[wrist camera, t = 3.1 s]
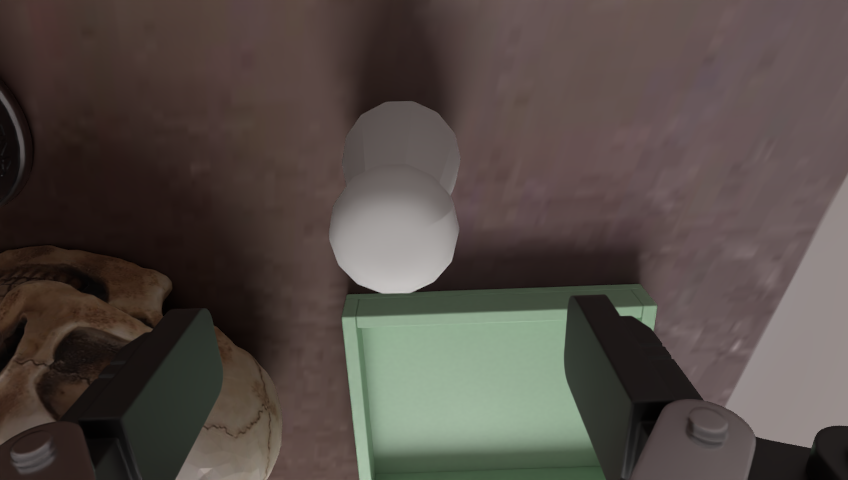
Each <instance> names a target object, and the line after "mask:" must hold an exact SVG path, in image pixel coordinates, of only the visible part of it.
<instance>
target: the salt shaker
mask: <svg viewBox="0 0 848 480" xmlns="http://www.w3.org/2000/svg"><path fill="white" fill-rule="evenodd" d="M460 160H461V158H460V154H459V149H458V145H457V140H456V136H455V133H454V132H453V131H452V129H451V128H450V127H449V126H448V125H447V123H446V122H445V121H444V120H443V118H442V117H441V116H440V115H439V114H438V113H437V112H435V111H433V110H431V109H429V108H427V107H425V106H422V105H420V104H418V103H416V102H414V101H395V102H384V103H383V104H381V105H379V106H377V107H375V108H373V109H371V110H369V111H367V112H365V113H364V114H362V115H361V116H360V117H359V118H358V120H357V121H356V123H355V124H354V126H353V127H352V129H351V130H350V132H349V133H348V134H347V136H346V140H345V146H344V153H343V159H342V166H343V171H344V176H345V182H346V188H345V189H344V190H343V192H342V193H341V195H340V196H339V197H338V199H337V200H336V202H335V204H334V205H333V210H332V217H331V223H330V229H329V240H330V243H331V246H332V248H333V251H334V254H335V257H336V259H337V262H338V265H339V266H340V267H341V268H342V269H343V270H344V271H345V272H346V273H347V274H348V275H349V276H350V277H351V278H352V279H353V280H354V281H355V282H356V283H357V284H359V285H361V286H364V287H367V288H369V289H372V290H375V291H377V292H380V293H383V294H388V293H411V292H414V291H416V290H418V289H420V288H422V287H424V286H426V285H428V284H430V283H433V282H434V281H435V280H436V279H437V278H438V277H439V276H440V275H441V273H442V272H443V271H444V270H445V269H446V268H447V267H448V265H449V264H450V263H451V262H452V258H453V255H454V250H455V246H456V242H457V237H458V233H459V225H458V221H457V216H456V212H455V208H454V203H453V200H452V197H451V193H452V191H453V188H454V186H455V183H456V178H457V173H458V169H459V164H460Z"/></svg>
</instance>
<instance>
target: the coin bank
mask: <svg viewBox="0 0 848 480" xmlns="http://www.w3.org/2000/svg"><path fill="white" fill-rule="evenodd" d="M171 290H172V282H171V281H170V279H169V278H168V277H167V276H165V275H163V274H161V273H159V272H157V271H155V270H152V269H146V268H141V267H139V266H138V265H136V264H134V263H131V262H127V261H125V260H123V259H120V258H115V257H111V256H106V255H100V254H94V253H90V252H86V251H82V250H65V249H61V248H58V247H55V246H52V245H44V246H34V247H25V248H20V249H15V250H7V251H5V252H2V253H0V445H1V444H3V443H4V442H5V441H7V440H8V439H10V438H12V437H13V436H15V435H17V434H19V433H21V432H23V431H25V430H27V429H29V428H32V427H35V426H38V425H41V424H45V423H50V422H56V421H59V420H60V418H61V417H62V416H63V415H64V414H65V413H66V412H67V410H68V409H69V408H70V407H71V406H72V405H73V404H74V402H75V401H76V400H77V399H78V398H79V397H80V396H81V394H82V393H83V392H84V391H85V390H86V389H87V388H88V387H89V385H90V384H91V383H92V382H93V381H94V380H95V379H98V377H99V376H98V375H99V374H100V373H101V372H102V371H103V369H104V368H105V367H106V366H107V365H110V361H111V360H112V359H113V358H114V357H115V356H116V355H117V353H118V352H119V351H120V350H121V349H122V348H123V347H124V346H125V345H127V344H128V343H130V342H131V341H133V340H134V339H136V338H137V337H139V336H140V335H142V334H143V333H145V332H151V331H152V330H153V328H154V327H155V326H156V325H157V324H158V322H159V321H160V320H161V319H162V318H163V315H162V303H163V302H164V300H165V299H166V298H167V296H168V295H169V293H170V292H171ZM214 330H215V334H216V339H217V343H218V348H219V352H220V357H221V361H222V366H223V383H222V388H221V392H220V394H219V397H218V398H217V400H216V402H215V404H214V406H213V408H212V410H211V412H210V414H209V416H208V418H207V420H206V422H205V424H204V425H203V427H202V429H201V431H200V433H199V435H198V437H197V439H196V441H195V443H194V445H193V447H192V449H191V451H190V453H189V454H188V456H187V458H186V460H185V462H184V464H183V466H182V468H181V470H180V472H179V474H178V476H177V478H176V480H267V478H268V477H269V475H270V473H271V471H272V469H273V467H274V464H275V462H276V459H277V457H278V454H279V450H280V446H281V433H282V422H283V419H282V412H281V407H280V403H279V399H278V395H277V392H276V388H275V386H274V383H273V382H272V380H271V378H270V377H269V375H268V373H267V372H266V371H265V370H264V369H263V368H262V367H261V366H260V365H259V364H258V362H257V361H256V359H255V358H254V357H253V356H252V355H251V354H249V353H248V352H247V351H245V350H243V349H241V348H239V347H237V346H235V345H234V343H233V342H232V341H231V340H230V339H229V338H228V337H227V336H226V335H225V334H224V333H223V332H221V330H220V329H219V328H218V327H216V326H214Z"/></svg>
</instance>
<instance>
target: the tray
mask: <svg viewBox="0 0 848 480" xmlns="http://www.w3.org/2000/svg"><path fill="white" fill-rule="evenodd" d="M599 294H605V295H607V297H608V298H609V299H610V301H611V302H612V304H613V305H614V307H615V308H616V310H617V311H618V313H619V314H620V316H633V317H635V318H636V319H638V320H639V321H641V322H642V323H644V324H645V325H647V326H648V327H650V328H651V329H652V330H653V331H654V325H655V318H656V312H657V304H656V303H655V302H654V301H653V299H652V298H651V297H650V296H649V294H648V293H647V292H646V291H645V290H644V289H643V287H642V286H641V285H640V284H622V285H595V286H567V287H540V288H513V289H486V290H458V291H431V292H411V293H388V294H383V293H377V294H349V295H347V296H346V301H345V305H344V309H343V313H342V317H341V318H342V327H343V336H344V345H345V355H346V364H347V373H348V382H349V391H350V400H351V409H352V418H353V427H354V436H355V445H356V454H357V463H358V473H359V480H606V478H605V476H604V473H603V471H602V468H601V466H600V463H599V461H598V458H597V456H596V453H595V451H594V448H593V446H592V443H591V441H590V438H589V436H588V433H587V431H586V428H585V426H584V423H583V421H582V418H581V416H580V413H579V411H578V408H577V406H576V403H575V401H574V398H573V396H572V393H571V391H570V388H569V386H568V383H567V380H566V376H565V369H564V346H565V333H566V321H567V308H568V301H569V298H570V296H572V295H599Z"/></svg>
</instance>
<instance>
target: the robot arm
mask: <svg viewBox="0 0 848 480" xmlns="http://www.w3.org/2000/svg"><path fill="white" fill-rule="evenodd" d="M32 159H33V148H32V140H31V134H30V130H29V127H28V124H27V121H26V118H25V116H24V114H23V112H22V110H21V108H20V106H19V104H18V102H17V101H16V99H15V97H14V96H13V95H12V93H11V92H10V90H9V89H8V88H7V86H6V85H5V84H4V83H3V81H2V80H1V79H0V207H2V206H4V205H5V204H7V203H8V202H10V201H11V200H12V199H14V198H15V197H16V196H17V195H18V194H19V192H20V191H21V190H22V188H23V187H24V185H25V183H26V182H27V179H28V177H29V174H30V170H31V166H32ZM564 369H565V376H566V380H567V383H568V386H569V388H570V391H571V393H572V396H573V398H574V401H575V403H576V406H577V408H578V411H579V413H580V416H581V418H582V421H583V423H584V426H585V428H586V431H587V433H588V436H589V438H590V441H591V443H592V446H593V448H594V451H595V453H596V456H597V458H598V461H599V463H600V466H601V468H602V471H603V473H604V476H605V478H606V480H848V426H831V427H827V428H824V429H822V430H820V431H819V432H818V433H817V435H816V437H815V439H814V442H813V445H812V448H807V447H802V446H797V445H791V444H786V443H780V442H775V441H770V440H766V439H762V438H758V437H755V435H754V432H753V430H752V429H751V428H750V426H749V425H748V424H747V423H746V422H745V421H744V420H743V419H742V418H741V417H739V416H738V415H737V414H735V413H734V412H732V411H730V410H728V409H726V408H724V407H722V406H720V405H717V404H714V403H711V402H708V401H704V400H703V399H702V397H701V396H700V395H699V393H698V392H697V391H696V389H695V388H694V386H693V385H692V384H691V382H690V381H689V380H688V378H687V377H686V375H685V374H684V373H683V371H682V370H681V369H680V367H679V366H678V365H677V363H676V362H675V360H674V359H671V355H670V354H669V352H668V351H667V350H666V348H665V347H662V343H661V341H660V340H659V339H658V337H657V336H656V335H655V333H654V332H653V330H652V329H651V328H650V327H648V326H647V325H645V324H644V323H642V322H641V321H639V320H638V319H636V318H635V317H633V316H620V314H619V313H618V311H617V310H616V308H615V307H614V305H613V304H612V302H611V301H610V299H609V298H608V297H607V295H605V294H599V295H572V296H570V298H569V301H568V308H567V321H566V333H565V346H564ZM98 376H99V377H98V379H95V380H94V381H93V382H92V383H91V384H90V385H89V387H88V388H87V389H86V390H85V391H84V392H83V393H82V394H81V396H80V397H79V398H78V399H77V400H76V401H75V402H74V404H73V405H72V406H71V407H70V408H69V409H68V410H67V412H66V413H65V414H64V415H63V416H62V417H61V418H60V420H59V421H56V422H50V423H45V424H41V425H38V426H35V427H32V428H29V429H27V430H25V431H23V432H21V433H19V434H17V435H15V436H13V437H12V438H10V439H8V440H7V441H5V442H4V443H3V444H1V445H0V480H176V478H177V476H178V474H179V472H180V470H181V468H182V466H183V464H184V462H185V460H186V458H187V456H188V454H189V453H190V451H191V449H192V447H193V445H194V443H195V441H196V439H197V437H198V435H199V433H200V431H201V429H202V427H203V425H204V424H205V422H206V420H207V418H208V416H209V414H210V412H211V410H212V408H213V406H214V404H215V402H216V400H217V398H218V397H219V394H220V392H221V388H222V383H223V366H222V361H221V357H220V352H219V348H218V343H217V339H216V334H215V330H214V325H213V321H212V317H211V314H210V312H209V311H208V309H206V308H190V309H171V310H169V311H168V312H167V313H166V314H165V315H164V316H163V318H162V319H161V320H160V321H159V322H158V324H157V325H156V326H155V327H154V328H153V330H152V331H151V332H145V333H143V334H142V335H140V336H139V337H137V338H136V339H134V340H133V341H131V342H130V343H128V344H127V345H125V346H124V347H123V348H122V349H121V350H120V351H119V352H118V353H117V355H116V356H115V357H114V358H113V359H112V360H111V361H110V365H107V366H106V367H105V368H104V369H103V371H102V372H101V373H100V374H99V375H98Z"/></svg>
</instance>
